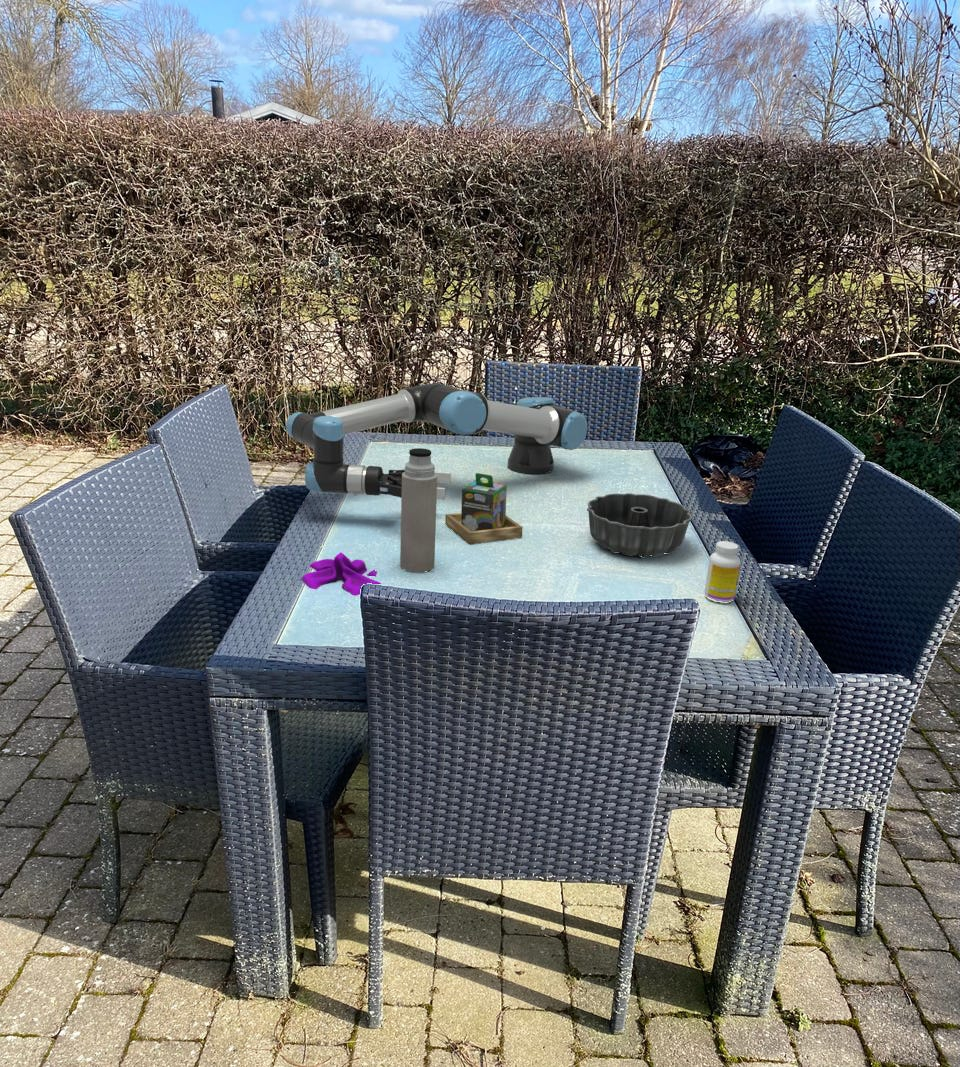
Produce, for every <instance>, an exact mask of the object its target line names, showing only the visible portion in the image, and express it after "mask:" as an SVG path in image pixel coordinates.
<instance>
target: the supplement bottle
mask: <svg viewBox="0 0 960 1067" xmlns="http://www.w3.org/2000/svg"><path fill="white" fill-rule="evenodd" d="M738 552H739V545H738V544H736V543H735V542H731V541H727V540H724V541H723V540H722V541H718V542H716V545H715V552H713V553H712V554H711V555H710V556H709V560H708V567H707V574H706V583H705V588H704V596H705V595H706V596H707V597H709V598H711V599H714V600H716V601H722V602H729V601H732V600H733V599H734V598H735V599H736V592H737V586H738V580H739V574H740V567H741V559H740V557H739V556H738V555H737V553H738ZM735 599H734V600H735Z"/></svg>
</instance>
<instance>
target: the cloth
mask: <svg viewBox="0 0 960 1067" xmlns="http://www.w3.org/2000/svg"><path fill="white" fill-rule="evenodd" d="M309 565H310V568H311V569H314V570H315V571H310V572H308V573H306V574H304V575H303V576H302V577H301V580H302V581H303V582H304V583H305V584H306V586H307V587H308V588H309V589H311V590H318V589H319V588H320V587H322V586H324V585H328V584H332V583H333V584H334V583H337V582H342V584H341V586H342V587H343V588H344V590H345V591H346V592H348V593H349V594H350V595H352V596H359V595H361V594H360V589H361V586H362V585H363V584H367V583H372V584H381V585H382V583H381V582H380V581H377V580H374V579H372V578H370V577H369V576H375V577H376V576H377V574H378V571H377V570H376V569H373V570H371V571H369V572H368V573H367V571H368V568H367V566H366V563H365V561H364V560H362V559H355V560H354V559H353V560H351V559H350V558H349V557H347V555H345V553H343V552H338V554H336V555H335V556H334V558H325V559H324V558H323V559H319V560H317V561H312V562H311V563H310V564H309ZM375 570H376V571H375ZM366 573H367V574H366ZM364 574H366V575H367V576H365V575H364Z"/></svg>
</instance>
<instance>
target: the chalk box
mask: <svg viewBox="0 0 960 1067" xmlns="http://www.w3.org/2000/svg"><path fill="white" fill-rule="evenodd" d="M482 479H486V480H482ZM507 485H508V484H507V483H503V482H497V481H494V480H493V476H492V475H491V474H486V473H479V472H476V473H475V480H473V481H470V482H469V483H467V485H466V486H465V485H464V486H463V487H462V488H461V512H460V513H461V524H463V525H464V526H465V527H466V528H468V529H469V530H470V531H481V530H489V529H498V528H502V527H503V526H504V525H505V521H506V516H507Z"/></svg>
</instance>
